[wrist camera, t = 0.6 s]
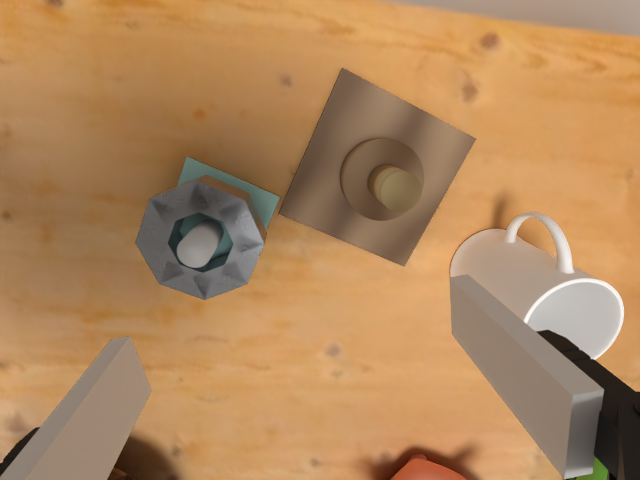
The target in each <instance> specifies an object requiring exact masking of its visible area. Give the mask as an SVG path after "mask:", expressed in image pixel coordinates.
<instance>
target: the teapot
mask: <svg viewBox="0 0 640 480" xmlns="http://www.w3.org/2000/svg"><path fill="white" fill-rule="evenodd" d="M390 480H467V479H466V478H464V477H463V476H462V474H461V473H458V472H455V471H453V470H451V469H449V468H446V467H444V466H441V465H439V464H436V463H433V462H430V461H428V460H427V457H426V456H425V455H423V454H415V455H413V456H411V457H410V458H409V460H408V463H407V464H406V465H405V466H404V467H403V468H402V469H400V470H399V471H398V472H397V473H396V474H395V475H394V476H393V477H392V478H391V479H390Z"/></svg>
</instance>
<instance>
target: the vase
mask: <svg viewBox="0 0 640 480" xmlns="http://www.w3.org/2000/svg"><path fill="white" fill-rule="evenodd" d="M107 480H137V479H135V478H134V477H132V476H131V475H129V474H127V473H125V472H123V471H121V470H119V469H117V468H114V467H113V469H112V471H111V473H110V475H109V477H108V479H107Z"/></svg>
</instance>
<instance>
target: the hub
mask: <svg viewBox="0 0 640 480" xmlns="http://www.w3.org/2000/svg"><path fill="white" fill-rule="evenodd" d="M475 140H476V138H474V137H472V136H470V135H468V134H466V133H464V132H462V131H461V130H459V129H457V128H455V127H453V126H451V125H449V124H447V123H445V122H444V121H442V120H440V119H438V118H436V117H434V116H432V115H430V114H428V113H427V112H425V111H423V110H421V109H419V108H417V107H415V106H413V105H412V104H410V103H408V102H406V101H404V100H402V99H400V98H398V97H396V96H395V95H393V94H391V93H389V92H387V91H385V90H383V89H381V88H379V87H378V86H376V85H374V84H372V83H370V82H368V81H366V80H364V79H363V78H361V77H359V76H357V75H355V74H353V73H351V72H349V71H347V70H346V69H344V68H342V69H341V72H340V74H339V76H338V79H337V81H336V83H335V85H334V88H333V90H332V92H331V95H330V97H329V99H328V101H327V104H326V106H325V108H324V111H323V113H322V115H321V117H320V120H319V122H318V124H317V127H316V129H315V131H314V134H313V136H312V138H311V140H310V143H309V145H308V147H307V150H306V152H305V154H304V156H303V159H302V161H301V163H300V166H299V168H298V170H297V172H296V175H295V177H294V179H293V182H292V184H291V186H290V188H289V191H288V193H287V195H286V198H285V200H284V202H283V205H282V207H281V209H280V211H279V214H281V215H283V216H286V217H288V218H291V219H293V220H295V221H298V222H300V223H302V224H305V225H307V226H309V227H312V228H314V229H317V230H319V231H321V232H324V233H326V234H328V235H331V236H333V237H335V238H338V239H340V240H343V241H345V242H347V243H350V244H352V245H354V246H357V247H359V248H362V249H364V250H366V251H369V252H371V253H373V254H376V255H378V256H380V257H383V258H385V259H388V260H390V261H392V262H395V263H397V264H399V265H402V266H405V265H406V263H407V261H408V259H409V257H410V256H411V254H412V252H413V250H414V249H415V247H416V245H417V243H418V241H419V240H420V238H421V236H422V234H423V233H424V231H425V229H426V227H427V225H428V224H429V222H430V220H431V218H432V217H433V215H434V213H435V211H436V209H437V208H438V206H439V204H440V202H441V200H442V199H443V197H444V195H445V193H446V192H447V190H448V188H449V186H450V184H451V183H452V181H453V179H454V177H455V176H456V174H457V172H458V170H459V168H460V167H461V165H462V163H463V161H464V160H465V158H466V156H467V154H468V152H469V151H470V149H471V147H472V145H473V144H474V142H475Z"/></svg>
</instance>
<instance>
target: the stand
mask: <svg viewBox="0 0 640 480" xmlns="http://www.w3.org/2000/svg"><path fill="white" fill-rule="evenodd" d="M204 175H208V176H210V177H213V178H215V179H217V180H220V181H222V182H225V183H227V184H229V185H232V186H234V187H236V188H239V189H241V190H243V191H246V192H248V193H250V196H251V198H252V200H253V202H254V205H255V207H256V209H257V211H258V214H259V216H260V218H261V221H262V223H263V225H264V227H265V230H266V229H267V226H268V224H269V222H270V220H271V217H272V215H273V213H274V210H275V208H276V206H277V203H278V201H279V199H280V196H278V195H276V194H273V193H271V192H269V191H266V190H264V189H262V188H259V187H257V186H255V185H253V184H250V183H248V182H246V181H243V180H241V179H239V178H236V177H234V176H232V175H229V174H227V173H225V172H223V171H220V170H218V169H216V168H213V167H211V166H209V165H206V164H204V163H202V162H199V161H197V160H195V159H193V158H190V157H186V160H185V163H184V166H183V169H182V172H181V175H180V177H179V180H178V183H177V186H178V185H180V184H183V183H186V182H188V181H191V180H193V179H196V178H199V177H201V176H204ZM179 232H180V234H181V236H182V238H183V239H182V240H181V241H180V243H179V244H178V247H177V255H178V258H179V259H180V261H181V262H182V263H183V264H185V265H186V266H189V267H193V268H198V267H202V266H204V265H205V264H207V263H208V261H209V260H210V259H213V258H216V257H218V256H221V255H224V254H226V253H229V252H230V251H231V249H232V247H233V241H232V239H231V237H230V235H229V233H228V231H227V229H226V227H225V225H224V223H223V222H222V221H220V220H217V219H215V218H212V217H210V216H207V215H205V214H203V213H200V212H197V213H195V214H192V215H190V216H187V217H184V220H183V223H182V226H181V228H180V231H179Z"/></svg>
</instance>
